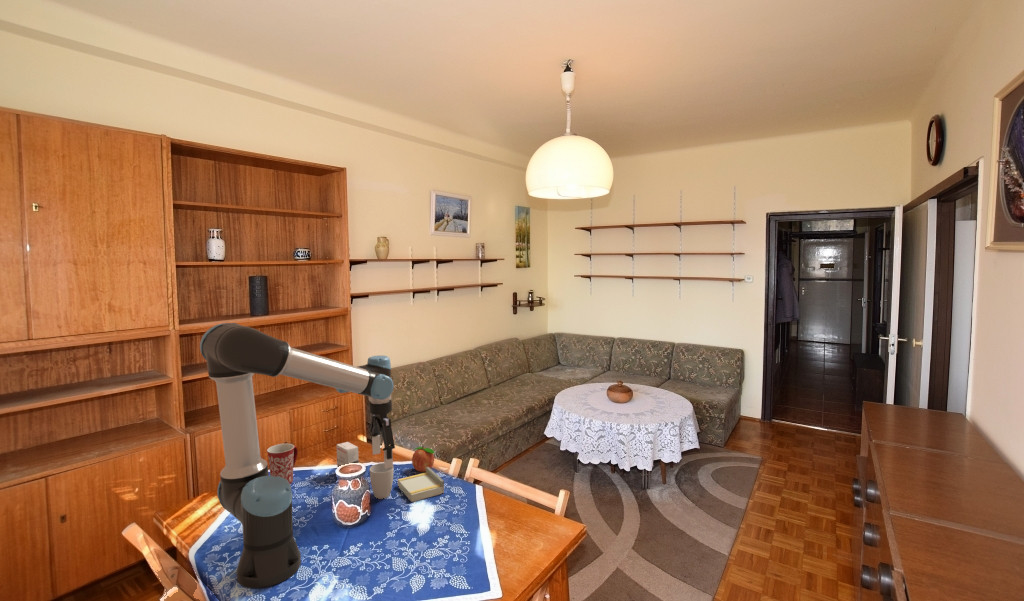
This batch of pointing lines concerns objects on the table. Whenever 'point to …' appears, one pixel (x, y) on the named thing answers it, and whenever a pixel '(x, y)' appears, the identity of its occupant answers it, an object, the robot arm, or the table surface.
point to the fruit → (423, 458)
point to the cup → (381, 480)
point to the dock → (422, 485)
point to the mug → (282, 460)
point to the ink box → (347, 454)
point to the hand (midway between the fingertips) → (382, 460)
